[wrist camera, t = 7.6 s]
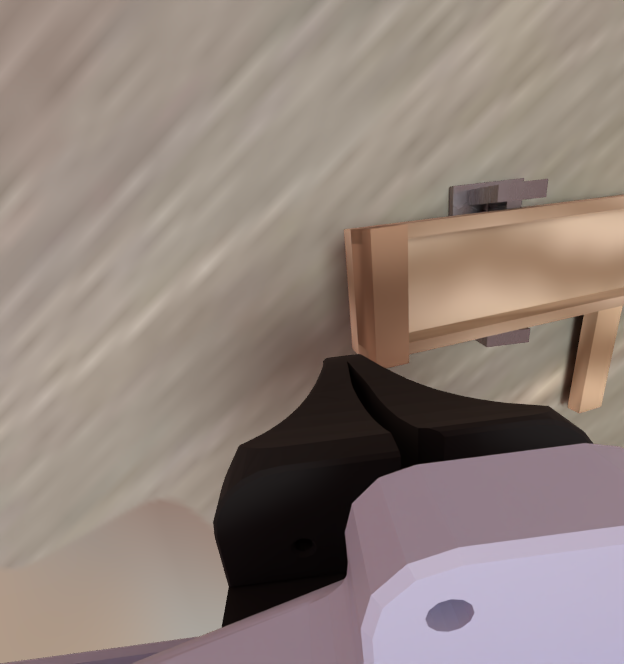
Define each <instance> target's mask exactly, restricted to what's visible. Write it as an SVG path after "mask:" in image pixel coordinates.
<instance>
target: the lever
mask: <svg viewBox="0 0 624 664" xmlns="http://www.w3.org/2000/svg"><path fill="white" fill-rule="evenodd" d="M344 238H345V252H346V265H347V279H348V293H349V307H350V320H351V334H352V348H353V350H354V351H355V352H356V353H358V354H361V355H363V356H365V357H367V358H368V359H370V360H372V361H374V362H375V363H377V364H379V365H380V366H382V367H384V368H390V367H394V366H398V365H402V364H407V363H409V354H413V353H418V352H422V351H427V350H431V349H435V348H440V347H444V346H448V345H453V344H457V343H462V342H466V341H470V340H475V339H479V338H483V337H488V336H492V335H497V334H501V333H505V332H510V331H514V330H518V329H523V328H527V327H532V326H536V325H540V324H545V323H549V322H553V321H558V320H562V319H566V318H571V317H575V316H580V315H584V317H583V322H582V328H581V334H580V339H579V345H578V351H577V357H576V362H575V368H574V374H573V379H572V385H571V391H570V396H569V402H568V408H569V409H571V410H573V411H575V412H577V413H582V412H585V411H588V410H591V409H594V408H598V407H601V404H602V399H603V394H604V390H605V385H606V380H607V376H608V371H609V367H610V362H611V357H612V353H613V348H614V343H615V339H616V334H617V329H618V325H619V320H620V315H621V311H622V306H623V305H624V195H617V196H609V197H601V198H593V199H585V200H577V201H569V202H561V203H553V204H545V205H537V206H529V207H521V208H513V209H505V210H497V211H489V212H480V213H472V214H464V215H456V216H448V217H440V218H432V219H424V220H416V221H408V222H400V223H392V224H384V225H376V226H368V227H360V228H352V229H344Z"/></svg>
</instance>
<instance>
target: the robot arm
mask: <svg viewBox="0 0 624 664" xmlns="http://www.w3.org/2000/svg"><path fill="white" fill-rule="evenodd" d="M213 524H214V534H215V540H216V543H217V547H218V550H219V554H220V557H221V560H222V564H223V567H224V571H225V575H226V578H227V582H228V585H229V590H228V595H227V600H226V606H225V612H224V617H223V623H222V628H220V629H217V630H215V631H212V632H210V633H207V634H205V635H202V636H199V637H192V638H186V639H177V640H170V641H163V642H156V643H148V644H141V645H133V646H126V647H118V648H111V649H103V650H96V651H89V652H81V653H74V654H67V655H60V656H52V657H45V658H37V659H30V660H23V661H15V662H7V663H0V664H624V449H623V448H622V447H618V446H608V445H598V444H593V442H592V441H591V440H590V439H589V437H588V436H587V435H586V434H585V432H584V431H582V430H581V429H580V428H578V427H577V426H575V425H574V424H573V423H571V422H570V421H569V420H567V419H566V418H564V417H563V416H562V415H560V414H559V413H557V412H556V411H555V410H553V409H552V408H551V407H549V406H540V405H526V404H513V403H502V402H495V401H488V400H481V399H475V398H470V397H464V396H460V395H456V394H452V393H447V392H443V391H440V390H436V389H433V388H430V387H427V386H424V385H421V384H419V383H416V382H413V381H411V380H409V379H406V378H404V377H402V376H400V375H398V374H396V373H394V372H392V371H390V370H388V369H386V368H384V367H382V366H380V365H379V364H377V363H375V362H374V361H372V360H370V359H368V358H367V357H365V356H363V355H361V354H356V355H348V356H339V357H331V358H326V359H325V360H324V361H323V367H322V370H321V373H320V375H319V377H318V380H317V382H316V384H315V385H314V387H313V389H312V390H311V392H310V394H309V395H308V396H307V398H306V399H305V400H304V402H303V403H302V404H301V405H300V406H299V407H298V408H297V409H296V410H295V411H294V412H293V413H292V414H291V415H290V416H289V417H287V418H286V419H285V420H283V421H282V422H281V423H279V424H278V425H276V426H275V427H273V428H272V429H270V430H269V431H267V432H265V433H264V434H262V435H260V436H258V437H256V438H254V439H252V440H250V441H248V442H246V443H244V444H241V445H240V446H239V447H238V449H237V451H236V454H235V456H234V458H233V460H232V462H231V465H230V467H229V469H228V472H227V474H226V477H225V479H224V482H223V485H222V489H221V493H220V497H219V501H218V505H217V509H216V513H215V517H214V521H213Z"/></svg>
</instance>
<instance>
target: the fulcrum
mask: <svg viewBox="0 0 624 664" xmlns="http://www.w3.org/2000/svg"><path fill="white" fill-rule="evenodd" d="M547 185H548V179H542V180H533V181H525V182H524V178H521V179H512V180H503V181H494V182H486V183H477V184H468V185H459V186H452V187H450V195H449V216H456V215H464V214H472V213H480V212H489V211H497V210H505V209H513V208H521V205H522V200H523V199H531V198H540V197H546V193H547ZM529 334H530V328H528V327H527V328H523V329H518V330H514V331H510V332H505V333H501V334H497V335H492V336H488V337H483V338H479V339H475V340H476V341H478V342H479V343H481V344H483V345H484V346H486V347H492V346H500V345H508V344H517V343H525V342H529Z"/></svg>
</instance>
